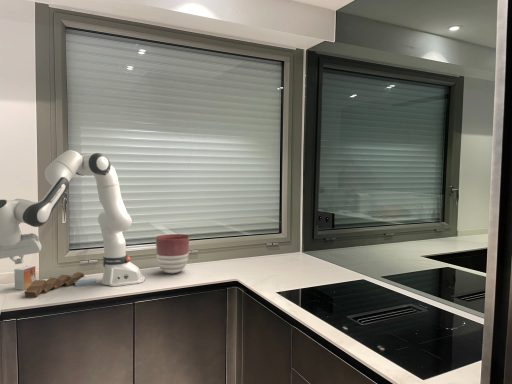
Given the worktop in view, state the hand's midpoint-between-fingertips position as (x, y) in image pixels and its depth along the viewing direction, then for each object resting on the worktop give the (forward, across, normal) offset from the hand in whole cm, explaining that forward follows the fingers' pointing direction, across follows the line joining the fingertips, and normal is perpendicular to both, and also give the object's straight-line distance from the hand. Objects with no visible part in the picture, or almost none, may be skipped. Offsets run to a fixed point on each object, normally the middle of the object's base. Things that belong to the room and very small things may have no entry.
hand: (19, 263), depth 163 cm
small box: (+29, +10, -20) cm, 37 cm away
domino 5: (+31, -13, -18) cm, 38 cm away
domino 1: (+21, +2, -4) cm, 22 cm away
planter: (+42, -64, -28) cm, 82 cm away
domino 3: (+27, -3, -14) cm, 31 cm away
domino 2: (+24, 0, -10) cm, 26 cm away
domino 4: (+29, -8, -19) cm, 36 cm away
